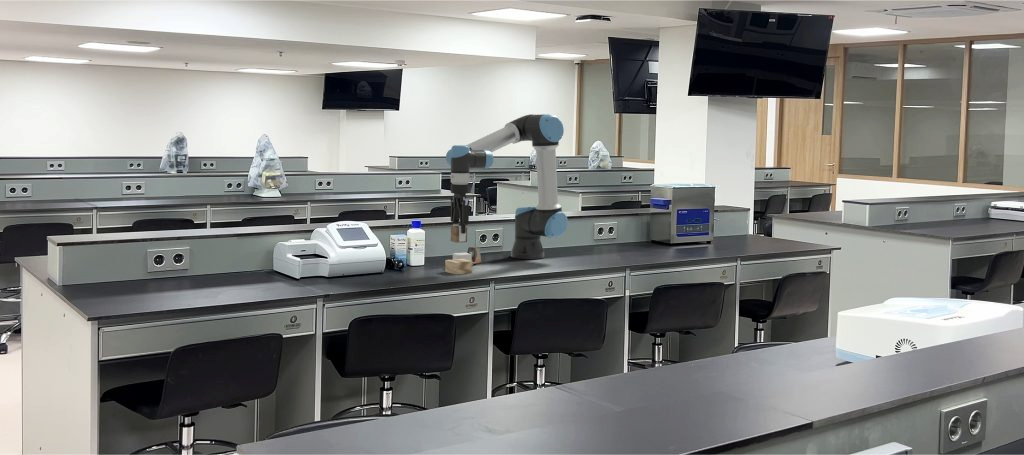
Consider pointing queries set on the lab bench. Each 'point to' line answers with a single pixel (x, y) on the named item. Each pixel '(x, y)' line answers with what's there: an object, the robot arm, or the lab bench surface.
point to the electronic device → (475, 254)
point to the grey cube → (462, 256)
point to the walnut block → (456, 234)
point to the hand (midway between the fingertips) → (459, 240)
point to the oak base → (458, 266)
